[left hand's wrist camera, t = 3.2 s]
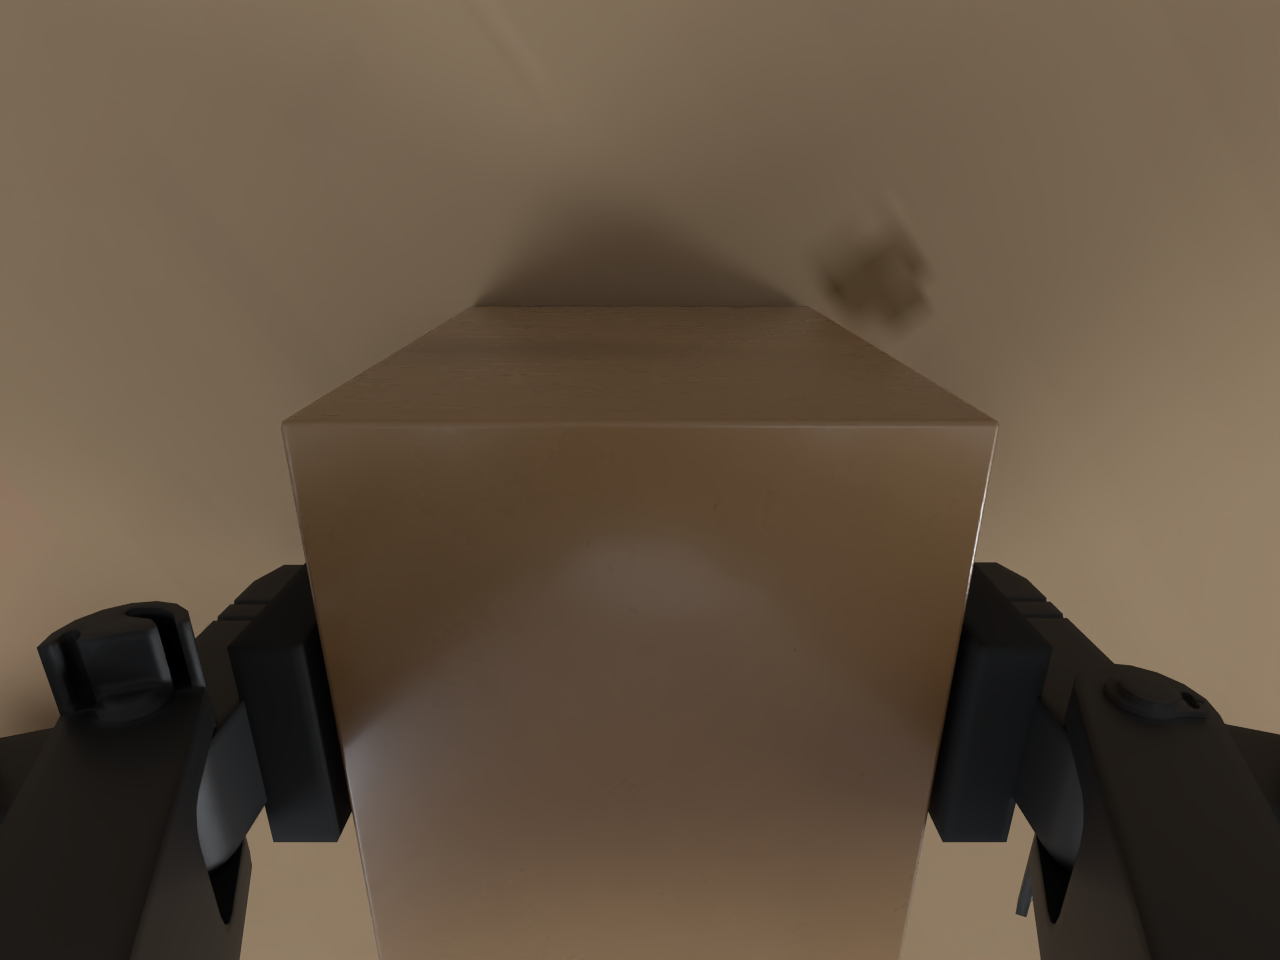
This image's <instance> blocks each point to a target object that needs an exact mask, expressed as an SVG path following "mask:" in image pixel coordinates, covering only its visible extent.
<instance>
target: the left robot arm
mask: <svg viewBox="0 0 1280 960" xmlns="http://www.w3.org/2000/svg"><path fill="white" fill-rule="evenodd" d="M37 650H38V653H39V655H40V658H41V661H42V664H43V667H44V670H45V673H46V675H47V678H48V681H49V684H50V687H51V690H52V693H53V695H54V698H55V701H56V704H57V707H58V710H59V713H60V715H61V716H60V718H59V719H58V721H57V723H56V725H55V727H54V728H50V729H45V730H39V731H34V732H29V733H24V734H19V735H14V736H8V737H3V738H0V960H239V959H240V952H241V944H242V937H243V929H244V922H245V914H246V907H247V900H248V892H249V885H250V877H251V870H252V863H251V857H250V851H249V847H248V843H247V839H246V834H247V833H248V831H249V829H250V828H251V826H252V825H253V823H254V821H255V820H256V818H257V817H258V815H259V813H260V812H261V810H262V808H263V807H264V805H265V808H266V812H267V817H268V821H269V825H270V829H271V833H272V837H273V842H337V841H338V839H339V837H340V835H341V833H342V831H343V829H344V827H345V824H346V822H347V820H348V818H349V816H350V814H351V812H352V808H351V803H350V797H349V792H348V787H347V781H346V776H345V770H344V765H343V760H342V754H341V749H340V743H339V738H338V733H337V727H336V722H335V716H334V711H333V705H332V700H331V695H330V689H329V684H328V678H327V673H326V668H325V662H324V657H323V651H322V646H321V641H320V635H319V630H318V624H317V619H316V614H315V608H314V603H313V597H312V592H311V586H310V581H309V576H308V570H307V565H306V563H305V564H304V565H283V566H281V567H279V568H278V569H276V570H274V571H272V572H270V573H268V574H267V575H265V576H263V577H261V578H259V579H257V580H256V581H254V582H253V583H252V584H251V585H250V586H249V587H248V588H247V589H246V590H245V591H244V592H243V593H241V594H240V595H239V596H238V597H237V598H236V599H235V600H234V604H230V605H229V606H228V607H227V608H226V609H225V610H224V611H223V612H222V613H221V614H220V615H219V616H218V620H217V621H213V622H212V623H211V624H210V625H209V626H208V627H207V628H206V629H205V630H204V631H203V632H202V633H201V634H200V635H198V636H197V637H196V638H195V637H194V633H193V629H192V625H191V621H190V617H189V613H188V611H187V610H186V609H184V608H183V607H181V606H179V605H178V604H175V603H167V602H160V601H153V602H140V603H130V604H126V605H122V606H117V607H113V608H109V609H104V610H101V611H98V612H96V613H93V614H90V615H88V616H85V617H82V618H80V619H77V620H75V621H73V622H71V623H69V624H68V625H66V626H64V627H62V628H61V629H59V630H57V631H55V632H53V633H52V634H51V635H50V636H49V637H47V638H46V639H45V640H44V641H43V642H42V643H41V644H40V645H39V646H38V647H37ZM1016 803H1017V805H1018V806H1019V808H1020V810H1021V811H1022V813H1023V814H1024V816H1025V817H1026V819H1027V821H1028V822H1029V824H1030V825H1031V827H1032V829H1033V830H1034V832H1035V835H1034V839H1033V843H1032V847H1031V851H1030V854H1029V858H1028V862H1027V866H1026V870H1025V874H1024V878H1023V882H1022V886H1021V889H1020V893H1019V897H1018V903H1017V909H1016V914H1018V915H1021V916H1024V917H1026V916H1027V913H1028V909H1029V905H1030V902H1031V901H1032V900H1033V905H1034V912H1035V920H1036V927H1037V935H1038V942H1039V949H1040V957H1041V960H1280V735H1279V734H1274V733H1269V732H1264V731H1258V730H1253V729H1248V728H1243V727H1238V726H1232V725H1227V724H1225V723H1224V722H1223V720H1222V718H1221V716H1220V715H1219V713H1218V712H1217V711H1216V710H1215V709H1214V708H1213V707H1212V705H1211V704H1210V703H1209V702H1208V701H1207V700H1206V699H1205V698H1204V697H1202V696H1201V695H1199V694H1198V693H1196V692H1195V691H1193V690H1192V689H1190V688H1189V687H1187V686H1186V685H1184V684H1182V683H1180V682H1178V681H1175V680H1173V679H1171V678H1169V677H1166V676H1164V675H1162V674H1159V673H1157V672H1153V671H1149V670H1146V669H1142V668H1138V667H1135V666H1131V665H1121V664H1114V663H1113V662H1112V661H1111V660H1110V659H1109V658H1108V657H1107V656H1106V655H1105V654H1104V653H1103V652H1102V651H1101V650H1100V649H1098V648H1097V647H1096V646H1095V645H1094V644H1093V643H1092V642H1091V641H1090V640H1089V639H1088V638H1087V637H1086V636H1085V635H1084V634H1083V633H1082V632H1081V631H1080V630H1079V629H1078V628H1077V627H1076V626H1075V625H1074V624H1073V623H1072V622H1071V621H1070V620H1069V619H1068V618H1063V614H1062V613H1061V612H1060V611H1059V610H1058V609H1057V608H1056V607H1055V606H1054V605H1053V604H1052V603H1051V602H1047V601H1046V597H1045V596H1044V595H1043V594H1042V593H1041V592H1040V591H1039V590H1038V589H1037V588H1036V587H1034V586H1033V585H1032V584H1031V583H1030V582H1029V581H1028V580H1027V579H1026V578H1024V577H1022V576H1020V575H1018V574H1017V573H1015V572H1013V571H1011V570H1009V569H1007V568H1005V567H1004V566H1002V565H1000V564H998V563H974V565H973V571H972V576H971V581H970V587H969V592H968V598H967V603H966V608H965V614H964V619H963V625H962V630H961V635H960V641H959V646H958V652H957V657H956V662H955V668H954V673H953V679H952V684H951V690H950V695H949V700H948V706H947V711H946V717H945V722H944V727H943V733H942V738H941V744H940V749H939V754H938V760H937V765H936V771H935V776H934V781H933V787H932V792H931V798H930V803H929V809H928V812H929V814H930V816H931V818H932V820H933V822H934V825H935V827H936V829H937V831H938V833H939V835H940V837H941V839H942V841H943V842H1007V837H1008V833H1009V829H1010V825H1011V821H1012V817H1013V812H1014V808H1015V804H1016Z"/></svg>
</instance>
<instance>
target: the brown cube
mask: <svg viewBox="0 0 1280 960" xmlns="http://www.w3.org/2000/svg"><path fill="white" fill-rule="evenodd" d="M281 430H282V435H283V440H284V446H285V451H286V457H287V462H288V467H289V473H290V478H291V484H292V489H293V495H294V500H295V505H296V511H297V516H298V522H299V527H300V532H301V538H302V543H303V549H304V554H305V559H306V565H307V570H308V576H309V581H310V586H311V592H312V597H313V603H314V608H315V614H316V619H317V624H318V630H319V635H320V641H321V646H322V651H323V657H324V662H325V668H326V673H327V678H328V684H329V689H330V695H331V700H332V705H333V711H334V716H335V722H336V727H337V733H338V738H339V743H340V749H341V754H342V760H343V765H344V770H345V776H346V781H347V787H348V792H349V797H350V803H351V808H352V814H353V819H354V824H355V830H356V835H357V841H358V846H359V852H360V857H361V862H362V868H363V873H364V879H365V884H366V889H367V895H368V900H369V906H370V911H371V916H372V922H373V927H374V933H375V938H376V943H377V949H378V954H379V960H901V955H902V949H903V944H904V938H905V933H906V928H907V922H908V917H909V911H910V906H911V900H912V895H913V890H914V884H915V879H916V873H917V868H918V863H919V857H920V852H921V846H922V841H923V836H924V830H925V825H926V819H927V814H928V809H929V803H930V798H931V792H932V787H933V781H934V776H935V771H936V765H937V760H938V754H939V749H940V744H941V738H942V733H943V727H944V722H945V717H946V711H947V706H948V700H949V695H950V690H951V684H952V679H953V673H954V668H955V662H956V657H957V652H958V646H959V641H960V635H961V630H962V625H963V619H964V614H965V608H966V603H967V598H968V592H969V587H970V581H971V576H972V571H973V565H974V560H975V554H976V549H977V544H978V538H979V533H980V527H981V522H982V516H983V511H984V506H985V500H986V495H987V489H988V484H989V479H990V473H991V468H992V462H993V457H994V452H995V446H996V441H997V435H998V430H999V425H998V421H996V420H995V419H993V418H991V417H990V416H988V415H986V414H985V413H983V412H981V411H980V410H978V409H977V408H975V407H973V406H972V405H970V404H968V403H967V402H965V401H963V400H962V399H960V398H958V397H957V396H955V395H953V394H952V393H950V392H949V391H947V390H945V389H944V388H942V387H940V386H939V385H937V384H935V383H934V382H932V381H930V380H929V379H927V378H925V377H924V376H922V375H921V374H919V373H917V372H916V371H914V370H912V369H911V368H909V367H907V366H906V365H904V364H902V363H901V362H899V361H897V360H896V359H894V358H893V357H891V356H889V355H888V354H886V353H884V352H883V351H881V350H879V349H878V348H876V347H874V346H873V345H871V344H869V343H868V342H866V341H865V340H863V339H861V338H860V337H858V336H856V335H855V334H853V333H851V332H850V331H848V330H846V329H845V328H843V327H841V326H840V325H838V324H837V323H835V322H833V321H832V320H830V319H828V318H827V317H825V316H823V315H822V314H820V313H818V312H817V311H815V310H813V309H812V308H810V307H470V308H468V309H467V310H465V311H463V312H462V313H460V314H458V315H457V316H455V317H453V318H452V319H450V320H448V321H447V322H445V323H444V324H442V325H440V326H439V327H437V328H435V329H434V330H432V331H430V332H429V333H427V334H425V335H424V336H422V337H420V338H419V339H417V340H416V341H414V342H412V343H411V344H409V345H407V346H406V347H404V348H402V349H401V350H399V351H397V352H396V353H394V354H392V355H391V356H389V357H388V358H386V359H384V360H383V361H381V362H379V363H378V364H376V365H374V366H373V367H371V368H369V369H368V370H366V371H364V372H363V373H361V374H360V375H358V376H356V377H355V378H353V379H351V380H350V381H348V382H346V383H345V384H343V385H341V386H340V387H338V388H336V389H335V390H333V391H332V392H330V393H328V394H327V395H325V396H323V397H322V398H320V399H318V400H317V401H315V402H313V403H312V404H310V405H308V406H307V407H305V408H304V409H302V410H300V411H299V412H297V413H295V414H294V415H292V416H290V417H289V418H287V419H285V420H284V421H283V422H282V425H281Z"/></svg>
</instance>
